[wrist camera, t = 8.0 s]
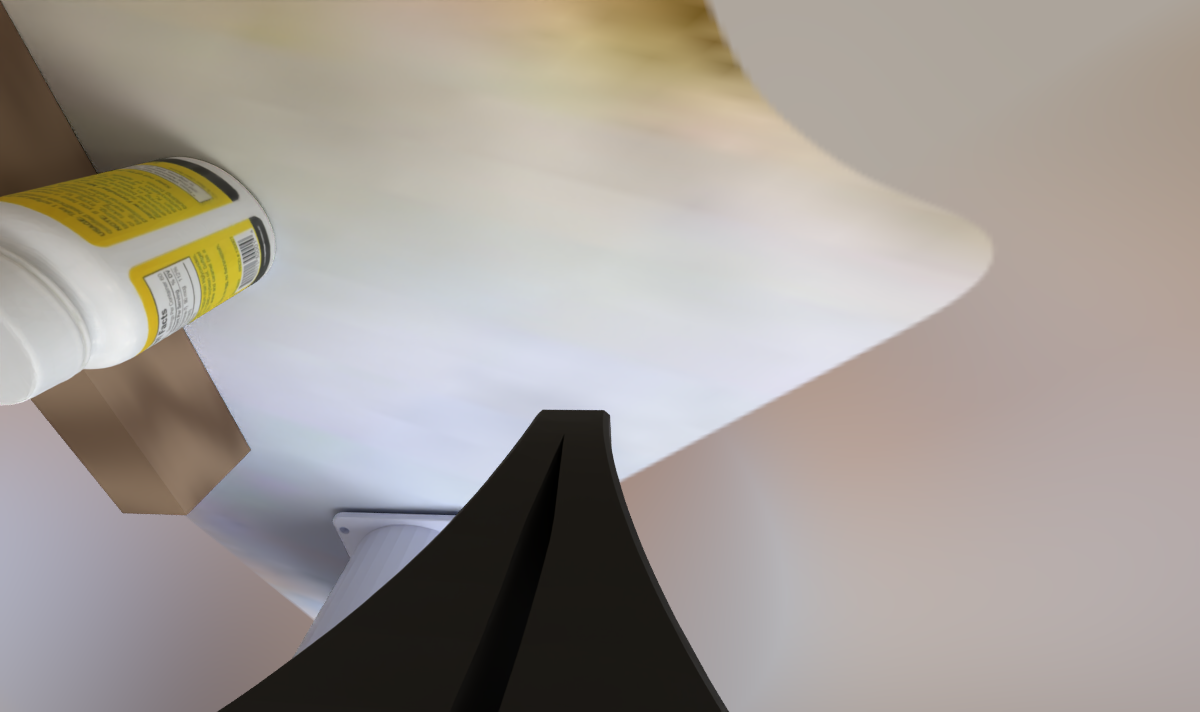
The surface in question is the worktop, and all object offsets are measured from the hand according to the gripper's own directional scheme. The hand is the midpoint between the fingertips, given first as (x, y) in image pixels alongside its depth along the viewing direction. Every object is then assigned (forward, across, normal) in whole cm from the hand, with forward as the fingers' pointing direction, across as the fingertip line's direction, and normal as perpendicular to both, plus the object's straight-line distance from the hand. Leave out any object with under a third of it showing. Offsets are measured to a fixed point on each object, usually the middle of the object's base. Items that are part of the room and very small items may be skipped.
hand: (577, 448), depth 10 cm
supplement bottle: (+10, +14, -2) cm, 17 cm away
